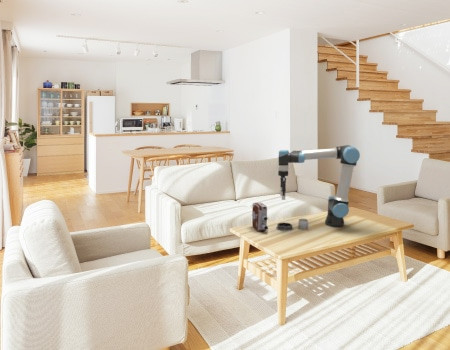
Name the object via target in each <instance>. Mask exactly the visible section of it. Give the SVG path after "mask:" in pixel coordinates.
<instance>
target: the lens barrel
mask: <svg viewBox="0 0 450 350" xmlns="http://www.w3.org/2000/svg"><path fill="white" fill-rule="evenodd" d="M276 230H278V231H282V232H292V231H293V230H294V227H293V224H292V223H289V222H279V223H277V226H276Z"/></svg>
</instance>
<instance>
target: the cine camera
mask: <svg viewBox="0 0 450 350" xmlns="http://www.w3.org/2000/svg"><path fill="white" fill-rule="evenodd" d="M251 219H252V220H251V224H252V225H251V226H252V228H254V229H255V230H256V231H257V232H265V231H267V230H268V228H269V226H268V223H267V222H268V219H269V218H268V206H267V205H266V204H265V203H263V202H253V203H252V214H251Z"/></svg>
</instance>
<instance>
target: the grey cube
mask: <svg viewBox="0 0 450 350" xmlns="http://www.w3.org/2000/svg"><path fill="white" fill-rule="evenodd" d="M297 225H298V226H297V227H298V228H297V229H298V230H299V231H307V230H308V226H309V220H308V219H307V218H298V224H297Z"/></svg>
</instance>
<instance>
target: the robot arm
mask: <svg viewBox="0 0 450 350" xmlns="http://www.w3.org/2000/svg"><path fill="white" fill-rule="evenodd" d="M360 157H361V155H360V151H359V150H358V149H357V147H355V146H352V145H350V144H346V145H340V146H334V147H332V148H318V149H306V150H292V151H291V152H290V151H289V150H288V149H280V150H278V166H277V168H278V174H277V175H278V176H280V189H279V190H280V193H279V194H280V196H281V200H282V201H286V192H287V187H286V186H287V185H286V182H287V178H286V177H288V176H289V169H290V168H289V166H290V165H289V164H291V163H295V164H303V163H305V161H306V160H307V161H308V160H309V161H310V160H321V159H322V160H325V159H335V160H340V161H339V163H340V165H341V168H340V173H339V177H338V178H339V179H338V184H337V189H336V194H335V195H331V196H329V197H328V200H327V201H328V202H327V203H328V204H327V214H326V218H325V220H324V224H325V226H328V227H334V228H341V227H344V226H345V220H344V217H347V215H349V213H350V208H349V202H350V199H349V198H348V197H349V194H350V193H349V192H350V188H351V183H352V178H353V172H354V168H355V167H356V166H357V163H358V161H359V159H360Z"/></svg>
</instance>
